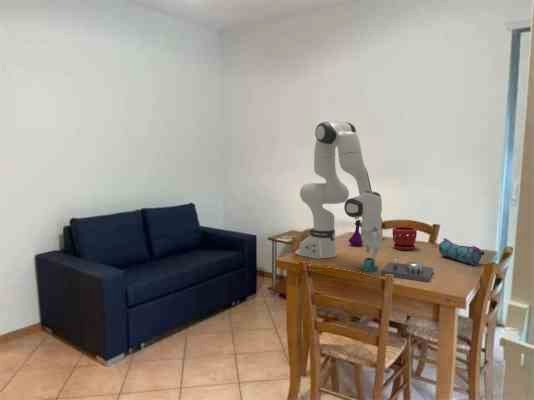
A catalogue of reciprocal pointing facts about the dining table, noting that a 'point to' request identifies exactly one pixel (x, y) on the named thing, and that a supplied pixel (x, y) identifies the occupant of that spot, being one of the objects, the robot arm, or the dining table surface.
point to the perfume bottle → (356, 235)
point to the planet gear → (369, 265)
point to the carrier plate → (408, 270)
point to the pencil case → (460, 252)
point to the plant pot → (404, 237)
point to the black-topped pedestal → (382, 226)
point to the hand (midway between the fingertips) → (371, 255)
